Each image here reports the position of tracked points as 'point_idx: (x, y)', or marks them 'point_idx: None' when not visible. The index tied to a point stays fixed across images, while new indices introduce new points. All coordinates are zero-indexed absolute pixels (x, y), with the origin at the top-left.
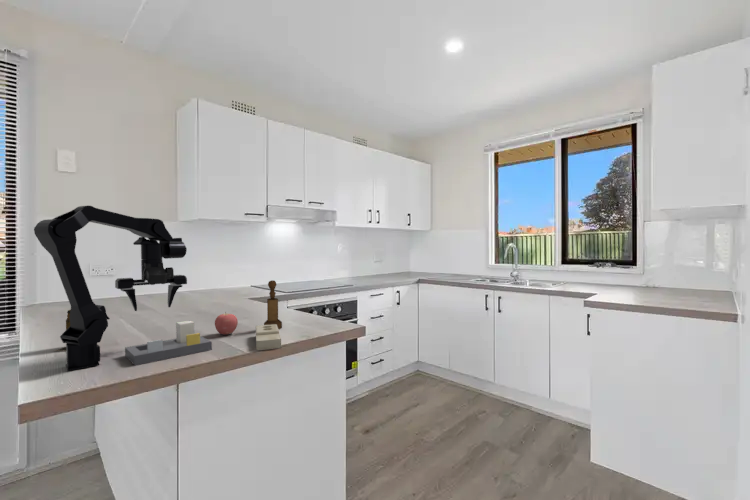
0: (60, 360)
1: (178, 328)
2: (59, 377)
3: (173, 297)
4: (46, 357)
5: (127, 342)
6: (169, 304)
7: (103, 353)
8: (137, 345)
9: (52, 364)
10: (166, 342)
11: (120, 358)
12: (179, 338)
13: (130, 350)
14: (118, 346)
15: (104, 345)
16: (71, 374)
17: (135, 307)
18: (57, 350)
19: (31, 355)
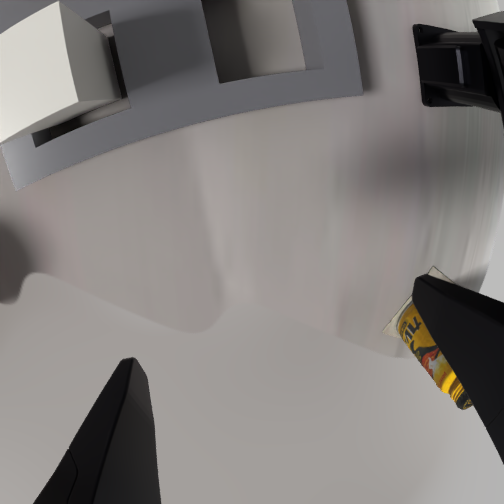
0: (471, 183)
1: (78, 46)
2: (467, 2)
3: (72, 444)
4: (477, 237)
5: (314, 318)
6: (125, 377)
7: (396, 194)
8: (314, 92)
9: (484, 151)
10: (168, 70)
11: None
12: (94, 43)
13: (343, 13)
14: (346, 274)
15: (374, 305)
16: (453, 2)
17: (446, 285)
18: None
19: (482, 273)
